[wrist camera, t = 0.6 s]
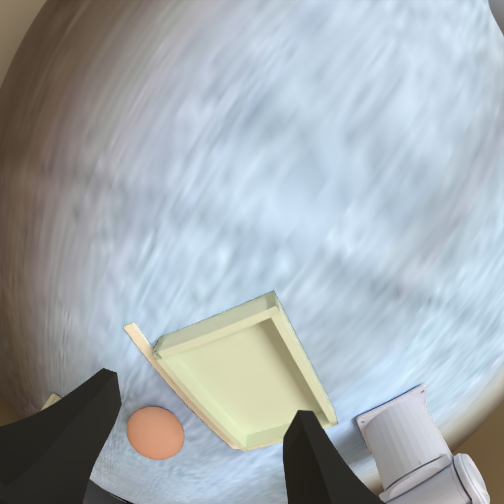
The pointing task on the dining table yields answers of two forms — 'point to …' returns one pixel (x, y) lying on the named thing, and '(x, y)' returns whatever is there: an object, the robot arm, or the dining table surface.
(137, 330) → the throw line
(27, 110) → the dining table surface
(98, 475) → the dining table surface
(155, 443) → the ball
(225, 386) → the tray
